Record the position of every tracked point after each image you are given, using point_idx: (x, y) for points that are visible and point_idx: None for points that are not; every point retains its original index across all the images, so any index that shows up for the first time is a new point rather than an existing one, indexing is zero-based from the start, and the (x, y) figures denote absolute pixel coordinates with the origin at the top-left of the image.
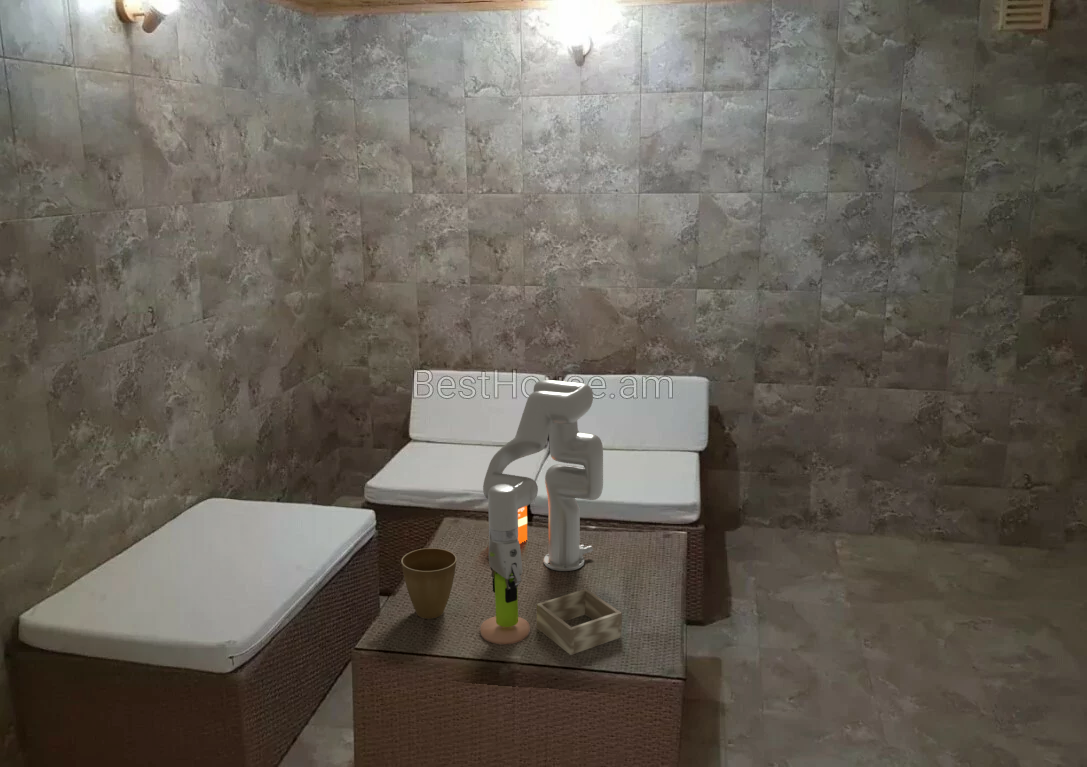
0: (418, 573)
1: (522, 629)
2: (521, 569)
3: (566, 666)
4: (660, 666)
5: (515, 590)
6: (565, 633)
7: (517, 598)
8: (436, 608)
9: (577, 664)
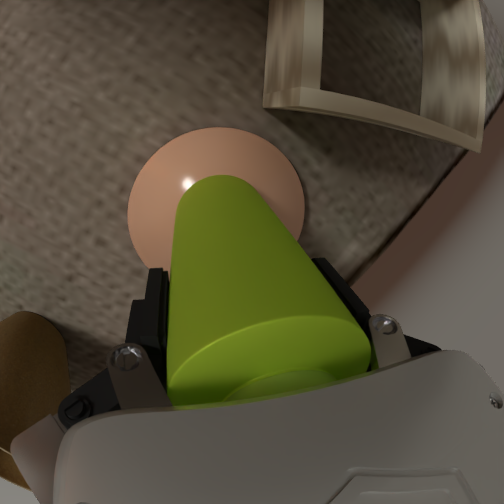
0: None
1: (269, 175)
2: (497, 392)
3: (440, 177)
4: (500, 58)
5: (368, 313)
6: (447, 142)
7: (284, 226)
8: (66, 366)
9: (448, 153)
